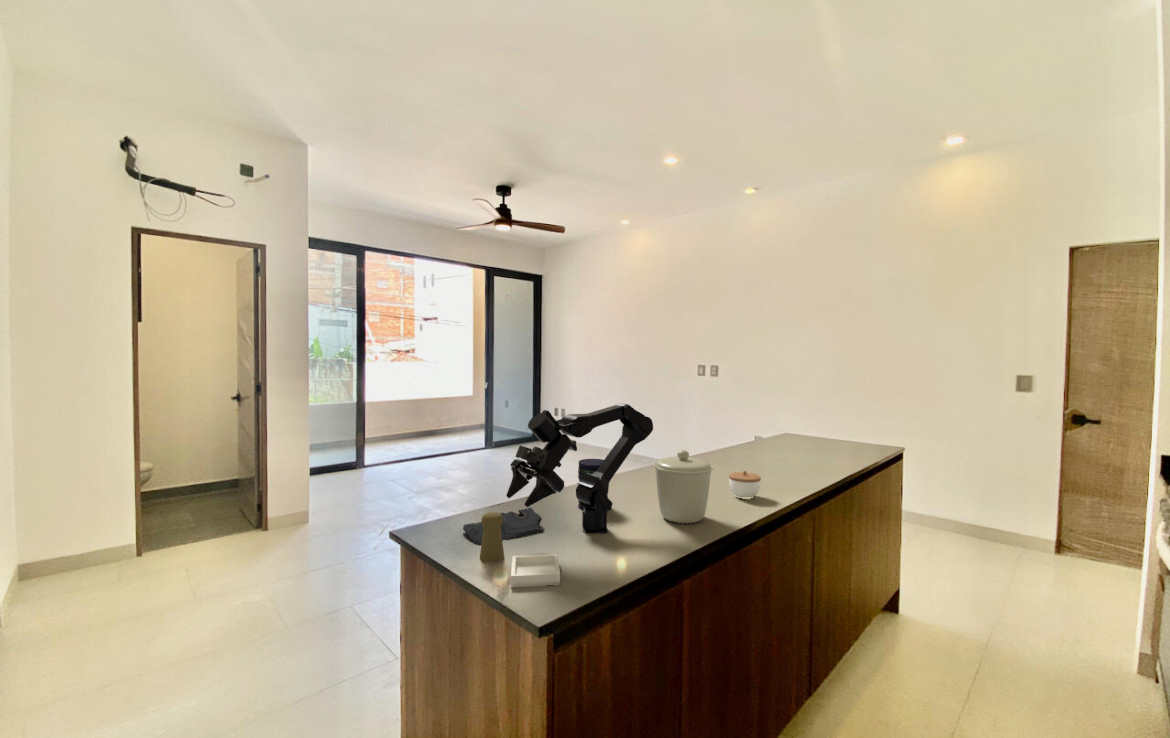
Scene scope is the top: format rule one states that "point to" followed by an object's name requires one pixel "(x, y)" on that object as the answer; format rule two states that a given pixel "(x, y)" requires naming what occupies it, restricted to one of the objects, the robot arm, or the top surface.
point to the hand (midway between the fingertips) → (516, 501)
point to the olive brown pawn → (492, 538)
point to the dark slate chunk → (509, 526)
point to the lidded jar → (744, 484)
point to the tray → (535, 570)
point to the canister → (683, 487)
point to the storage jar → (588, 470)
